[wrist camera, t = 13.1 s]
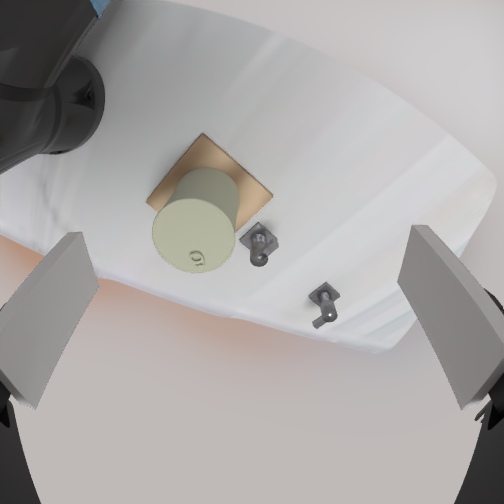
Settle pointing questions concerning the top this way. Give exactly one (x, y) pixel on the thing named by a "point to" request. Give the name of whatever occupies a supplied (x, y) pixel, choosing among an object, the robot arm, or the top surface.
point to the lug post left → (259, 244)
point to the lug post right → (325, 304)
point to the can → (198, 221)
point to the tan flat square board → (215, 157)
